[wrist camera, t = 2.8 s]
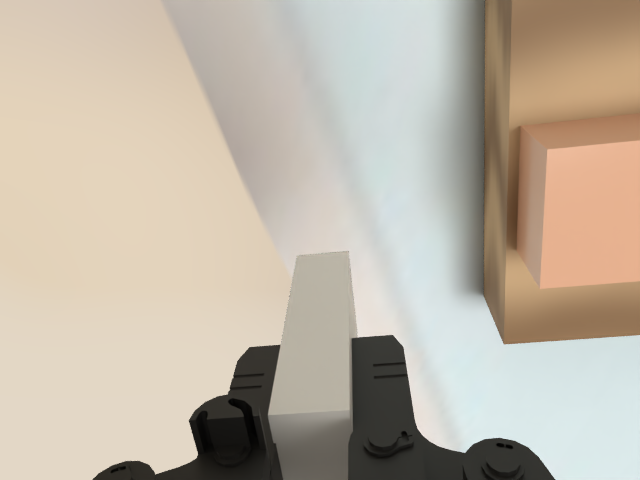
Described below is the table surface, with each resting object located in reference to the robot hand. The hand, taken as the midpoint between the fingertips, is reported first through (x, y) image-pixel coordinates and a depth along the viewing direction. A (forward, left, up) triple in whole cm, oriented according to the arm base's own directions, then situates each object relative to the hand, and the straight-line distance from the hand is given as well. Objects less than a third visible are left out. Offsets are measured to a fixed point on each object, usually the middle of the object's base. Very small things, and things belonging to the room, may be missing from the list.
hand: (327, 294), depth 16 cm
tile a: (0, +10, -6) cm, 11 cm away
